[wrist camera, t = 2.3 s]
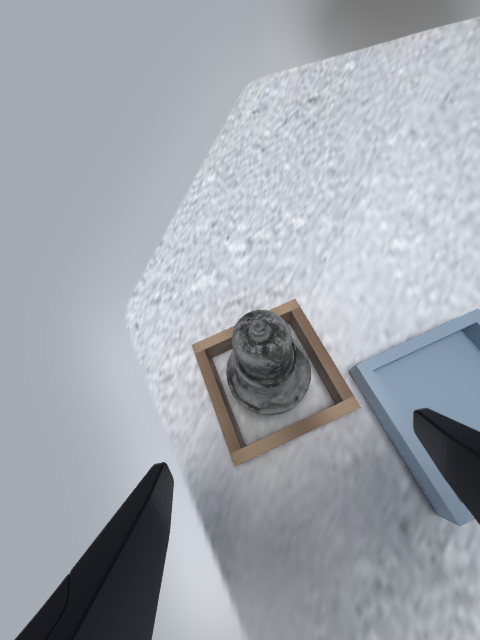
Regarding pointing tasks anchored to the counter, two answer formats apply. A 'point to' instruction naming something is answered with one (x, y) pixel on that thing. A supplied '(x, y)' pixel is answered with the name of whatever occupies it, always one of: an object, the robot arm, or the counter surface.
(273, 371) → the grey stone chess piece
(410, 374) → the slate tray
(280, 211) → the counter surface
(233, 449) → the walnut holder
